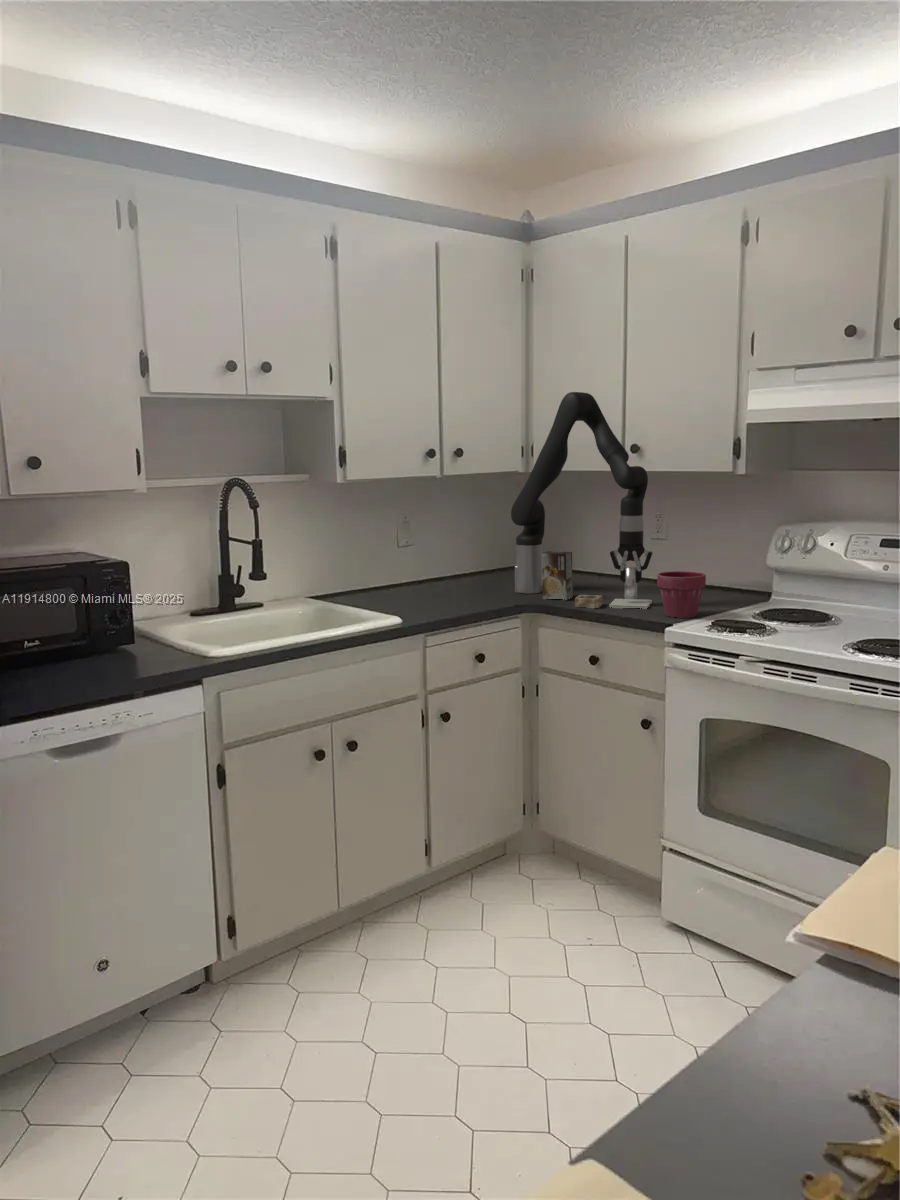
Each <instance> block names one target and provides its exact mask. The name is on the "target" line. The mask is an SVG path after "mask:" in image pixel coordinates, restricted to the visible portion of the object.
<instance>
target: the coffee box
mask: <svg viewBox="0 0 900 1200" xmlns="http://www.w3.org/2000/svg"><path fill="white" fill-rule="evenodd" d="M573 594H574V593H573V551H560V550H559V551H555V550H553V551H551V550H547V551H544V552H542V600H546V599H563V600H562V601H566V600H567V599H569V600H571V599H573V598H574V596H573ZM572 597H573V598H572ZM570 598H571V599H570ZM564 599H565V600H564ZM567 601H568V600H567Z"/></svg>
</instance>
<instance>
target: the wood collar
mask: <svg viewBox="0 0 900 1200" xmlns="http://www.w3.org/2000/svg"><path fill="white" fill-rule="evenodd" d="M602 605H603V595H601V594H600V595H596V594H595V595H594V594H578V596H576V597H575V598H574V608H575V607H586V608H585V609H594V608H598V609H600V608H601V607H602Z"/></svg>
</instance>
